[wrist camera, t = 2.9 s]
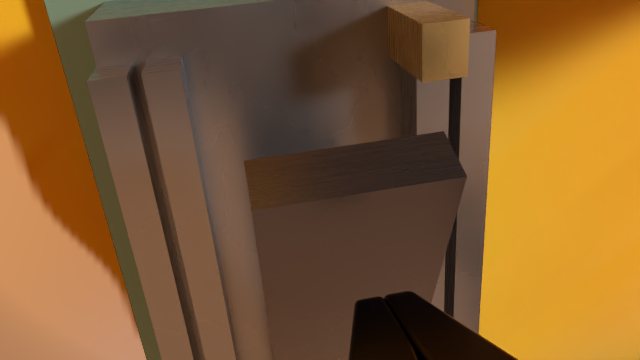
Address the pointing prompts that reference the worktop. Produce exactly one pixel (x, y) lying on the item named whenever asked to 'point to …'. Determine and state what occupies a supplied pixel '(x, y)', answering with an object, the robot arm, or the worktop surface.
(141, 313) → the board
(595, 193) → the worktop surface
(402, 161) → the dark brown flat bar
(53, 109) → the worktop surface
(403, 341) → the robot arm
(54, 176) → the worktop surface
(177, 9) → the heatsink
